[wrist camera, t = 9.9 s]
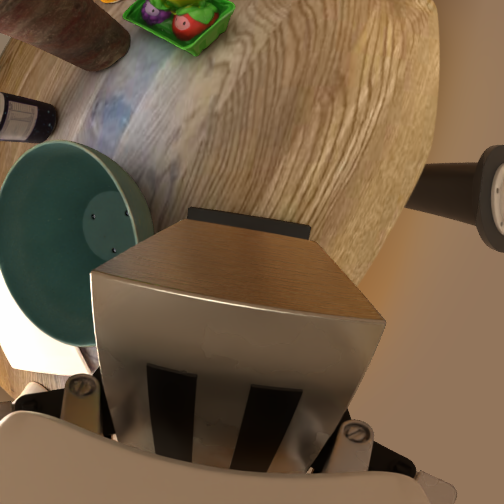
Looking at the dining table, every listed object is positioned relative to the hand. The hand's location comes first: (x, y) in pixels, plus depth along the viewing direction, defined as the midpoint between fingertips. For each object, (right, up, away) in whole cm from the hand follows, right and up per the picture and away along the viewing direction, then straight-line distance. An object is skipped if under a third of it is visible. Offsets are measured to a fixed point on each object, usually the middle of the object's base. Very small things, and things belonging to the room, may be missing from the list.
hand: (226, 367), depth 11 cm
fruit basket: (-6, +32, +12) cm, 35 cm away
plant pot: (-15, +8, +19) cm, 26 cm away
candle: (-18, +31, +13) cm, 38 cm away
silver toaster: (0, +1, +3) cm, 3 cm away
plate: (-39, -4, +22) cm, 45 cm away
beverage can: (-27, +23, +15) cm, 39 cm away
